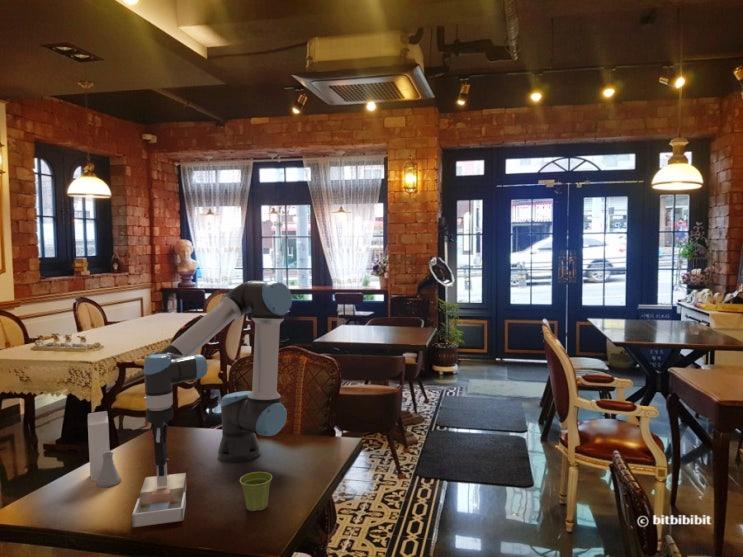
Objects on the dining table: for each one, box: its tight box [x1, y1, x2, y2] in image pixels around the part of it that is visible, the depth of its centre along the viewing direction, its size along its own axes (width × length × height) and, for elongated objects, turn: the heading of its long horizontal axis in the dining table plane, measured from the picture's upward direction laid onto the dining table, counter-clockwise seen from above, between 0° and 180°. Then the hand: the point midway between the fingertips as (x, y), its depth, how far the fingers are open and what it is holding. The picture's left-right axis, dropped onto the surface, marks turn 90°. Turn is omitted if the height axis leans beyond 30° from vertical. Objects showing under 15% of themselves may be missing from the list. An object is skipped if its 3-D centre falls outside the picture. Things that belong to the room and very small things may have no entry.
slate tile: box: [148, 502, 170, 512], centre depth 157 cm, size 5×5×3 cm
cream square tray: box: [139, 472, 187, 508], centre depth 170 cm, size 12×12×5 cm
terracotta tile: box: [151, 489, 171, 509], centre depth 162 cm, size 5×5×3 cm
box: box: [131, 491, 187, 528], centre depth 159 cm, size 13×11×4 cm
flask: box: [95, 451, 122, 488], centre depth 182 cm, size 7×7×10 cm
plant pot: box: [239, 471, 273, 512], centre depth 163 cm, size 9×9×9 cm
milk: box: [87, 410, 111, 482], centre depth 188 cm, size 6×6×22 cm
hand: (162, 485), depth 166 cm, fingers closed
